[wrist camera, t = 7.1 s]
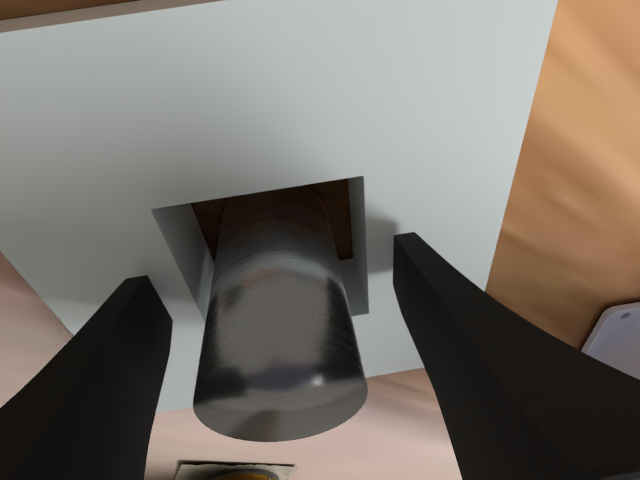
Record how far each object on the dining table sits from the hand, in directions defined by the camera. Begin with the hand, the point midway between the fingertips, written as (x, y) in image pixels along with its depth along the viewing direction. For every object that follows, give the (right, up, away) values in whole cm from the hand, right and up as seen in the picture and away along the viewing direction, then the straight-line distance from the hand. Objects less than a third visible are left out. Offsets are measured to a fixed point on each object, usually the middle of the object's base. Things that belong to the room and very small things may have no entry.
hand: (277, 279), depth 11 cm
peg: (0, +2, +3) cm, 3 cm away
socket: (0, +2, +3) cm, 3 cm away
